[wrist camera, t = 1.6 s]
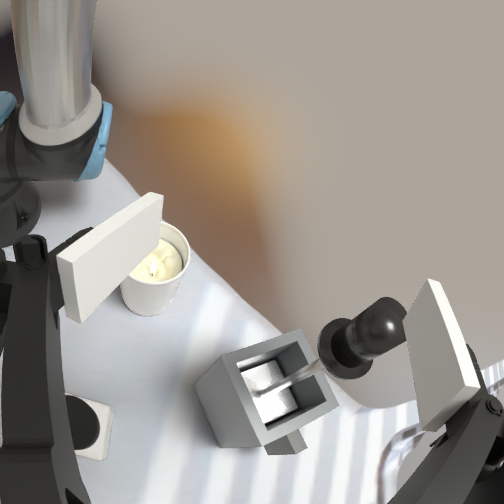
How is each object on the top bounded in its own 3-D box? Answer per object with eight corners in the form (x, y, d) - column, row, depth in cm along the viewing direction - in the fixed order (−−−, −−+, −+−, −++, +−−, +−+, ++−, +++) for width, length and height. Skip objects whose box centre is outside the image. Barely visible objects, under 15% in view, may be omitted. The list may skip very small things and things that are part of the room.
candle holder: (188, 307, 50) (204, 267, 40) (132, 331, 44) (133, 295, 35) (160, 258, 53) (170, 211, 44) (107, 277, 47) (104, 231, 38)
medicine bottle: (114, 411, 36) (107, 399, 27) (107, 459, 32) (96, 464, 23) (66, 397, 35) (44, 379, 26) (57, 444, 30) (31, 441, 21)
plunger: (225, 378, 35) (330, 286, 18) (273, 361, 39) (396, 264, 21) (248, 430, 33) (384, 390, 15) (295, 408, 36) (441, 345, 18)
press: (193, 385, 43) (221, 355, 30) (253, 365, 48) (301, 328, 35) (229, 466, 37) (274, 471, 25) (287, 439, 42) (350, 428, 30)
